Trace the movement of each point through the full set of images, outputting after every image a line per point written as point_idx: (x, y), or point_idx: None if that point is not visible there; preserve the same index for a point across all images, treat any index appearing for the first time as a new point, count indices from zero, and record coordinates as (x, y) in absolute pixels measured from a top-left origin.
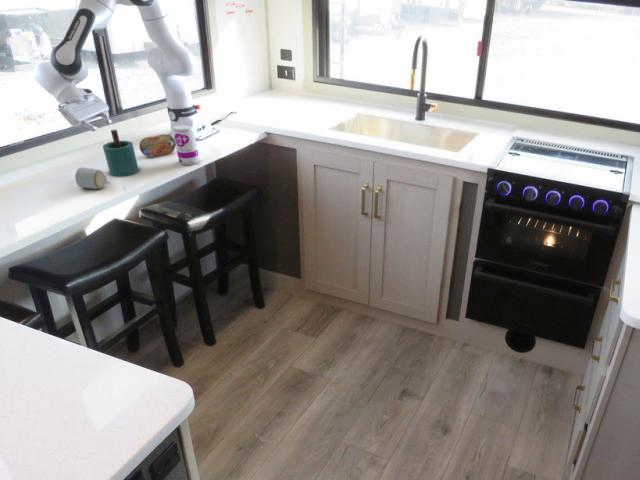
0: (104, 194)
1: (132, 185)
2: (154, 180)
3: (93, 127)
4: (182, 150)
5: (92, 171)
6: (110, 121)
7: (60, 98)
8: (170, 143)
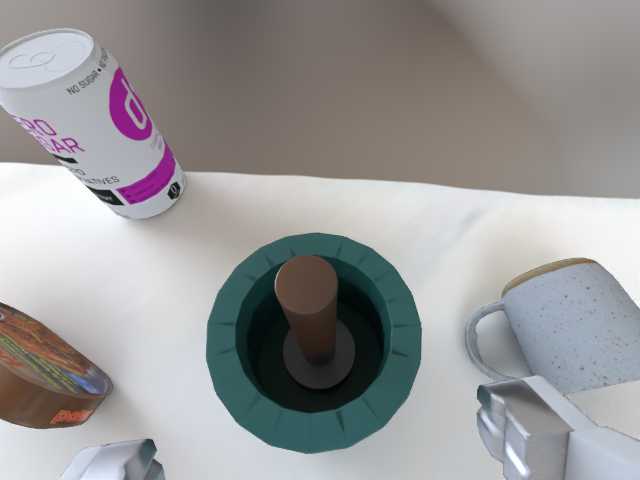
0: (553, 248)
1: (430, 220)
2: (354, 187)
3: (559, 391)
4: (160, 140)
5: (605, 277)
6: (114, 446)
7: None
8: None
